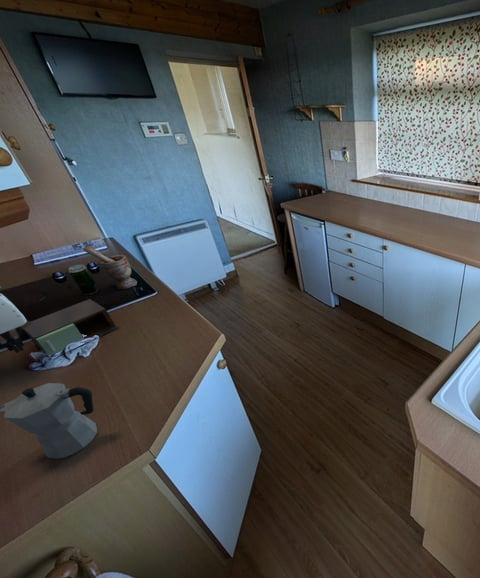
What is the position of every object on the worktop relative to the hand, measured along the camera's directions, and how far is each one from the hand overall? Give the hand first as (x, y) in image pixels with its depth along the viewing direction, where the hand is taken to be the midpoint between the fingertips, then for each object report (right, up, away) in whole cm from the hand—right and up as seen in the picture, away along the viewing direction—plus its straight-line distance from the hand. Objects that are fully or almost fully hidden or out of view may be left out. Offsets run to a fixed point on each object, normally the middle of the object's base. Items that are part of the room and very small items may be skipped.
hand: (18, 349), depth 85 cm
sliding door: (+4, -2, +10) cm, 11 cm away
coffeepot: (+33, -19, -15) cm, 41 cm away
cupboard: (0, +1, +16) cm, 16 cm away
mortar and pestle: (-10, +19, +45) cm, 49 cm away
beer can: (-19, +16, +40) cm, 48 cm away
